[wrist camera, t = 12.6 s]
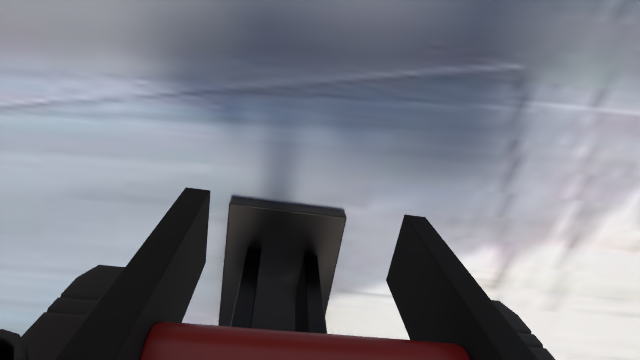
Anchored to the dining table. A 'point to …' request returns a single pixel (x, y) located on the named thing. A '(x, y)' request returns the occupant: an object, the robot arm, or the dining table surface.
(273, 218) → the black upright bracket
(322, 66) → the dining table surface
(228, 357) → the lever
